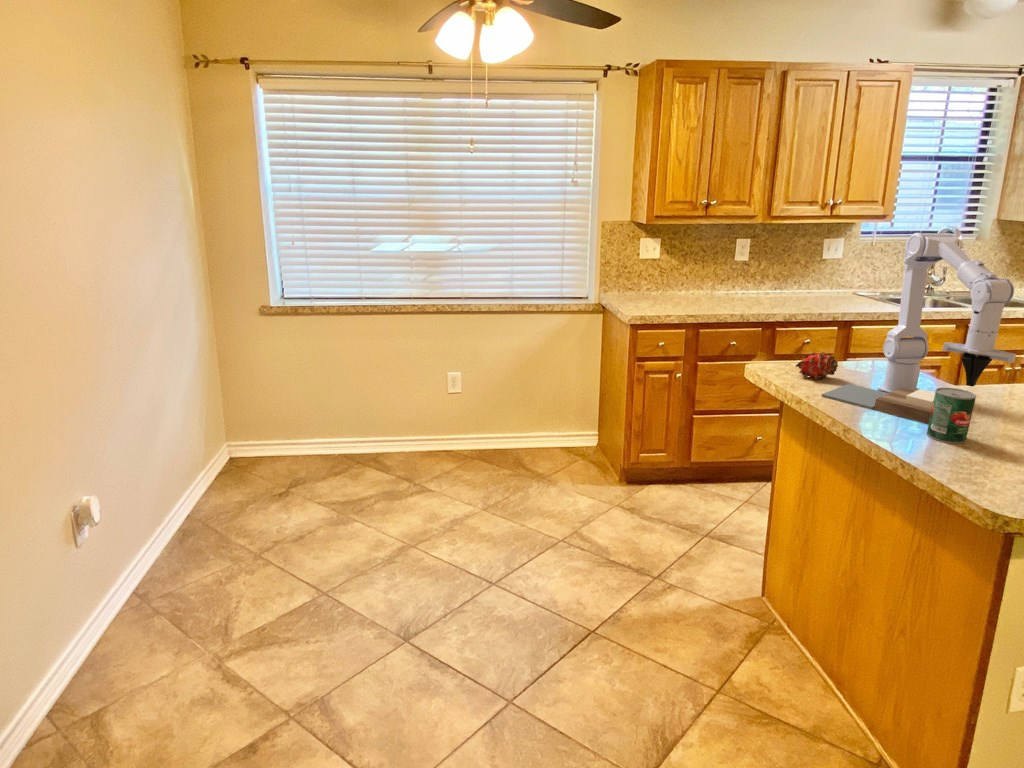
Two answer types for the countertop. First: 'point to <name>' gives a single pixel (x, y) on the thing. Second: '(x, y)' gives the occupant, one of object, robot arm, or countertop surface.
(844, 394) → the mat
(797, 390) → the countertop surface
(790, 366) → the countertop surface
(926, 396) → the cream rectangular slab
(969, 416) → the canned tomato
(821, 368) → the dragon fruit
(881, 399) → the brown wooden slab
